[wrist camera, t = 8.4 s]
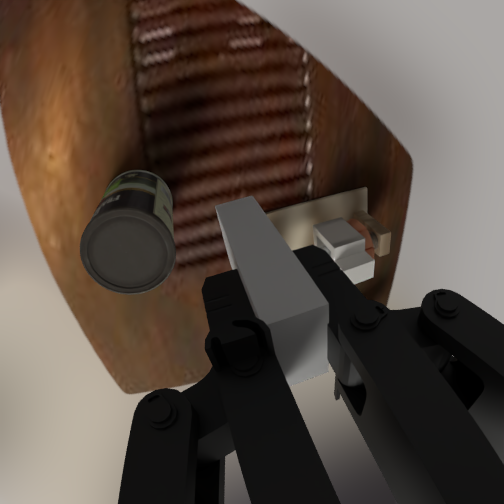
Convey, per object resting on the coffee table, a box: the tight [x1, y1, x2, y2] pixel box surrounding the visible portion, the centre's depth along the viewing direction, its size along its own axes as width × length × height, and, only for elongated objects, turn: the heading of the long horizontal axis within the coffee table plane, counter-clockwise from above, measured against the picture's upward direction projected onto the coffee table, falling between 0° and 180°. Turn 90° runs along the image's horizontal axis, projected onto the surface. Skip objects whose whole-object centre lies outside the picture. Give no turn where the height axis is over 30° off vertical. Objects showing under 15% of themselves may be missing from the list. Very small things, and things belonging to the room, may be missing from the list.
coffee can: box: [80, 170, 176, 295], centre depth 35 cm, size 10×10×14 cm
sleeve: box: [313, 217, 375, 284], centre depth 44 cm, size 5×7×10 cm
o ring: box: [347, 219, 374, 259], centre depth 45 cm, size 2×8×8 cm, turn 10°
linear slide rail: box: [265, 187, 391, 257], centre depth 47 cm, size 22×12×9 cm, turn 100°
